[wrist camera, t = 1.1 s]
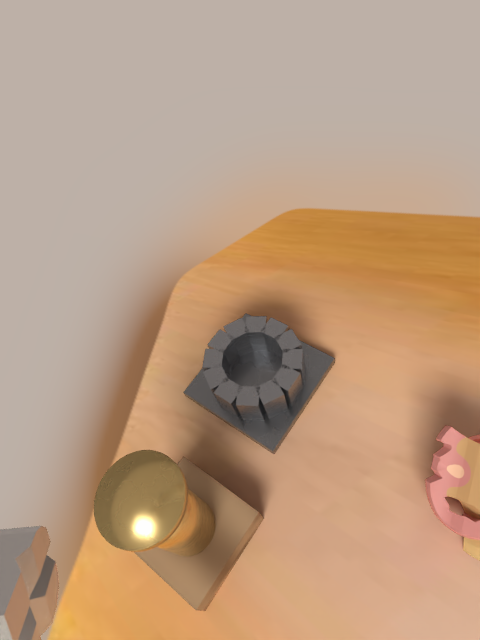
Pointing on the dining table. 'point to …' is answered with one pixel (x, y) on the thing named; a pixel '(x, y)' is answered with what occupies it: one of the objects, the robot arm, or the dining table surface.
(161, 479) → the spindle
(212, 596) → the stand
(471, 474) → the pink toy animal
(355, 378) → the dining table surface
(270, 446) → the hub
